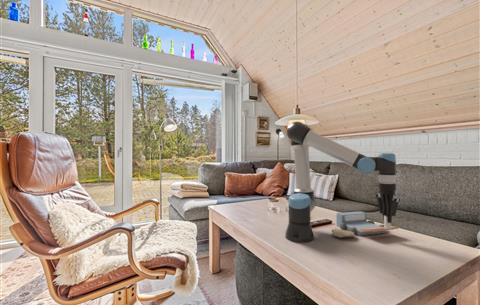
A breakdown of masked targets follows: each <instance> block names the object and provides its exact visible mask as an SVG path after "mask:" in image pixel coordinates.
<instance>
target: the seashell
mask: <svg viewBox="0 0 480 305" xmlns="http://www.w3.org/2000/svg"><path fill="white" fill-rule="evenodd" d="M331 235H332V236H335V237H337V238H338V239H339V238H340V239H341V238H343V239H344V238H350V237H353V236H355V235H354V233H353V232H351V231H347V230H342V229H337V228H334V229H332V230H331Z"/></svg>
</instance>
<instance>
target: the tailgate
mask: <svg viewBox="0 0 480 305" xmlns="http://www.w3.org/2000/svg"><path fill="white" fill-rule="evenodd" d="M398 229H399V226H391V229H385V228H384V227H379V228H368V229H360V230H361V231H372V232H374V231H384V230H386V231H393V230H398Z"/></svg>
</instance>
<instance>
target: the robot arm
mask: <svg viewBox="0 0 480 305" xmlns="http://www.w3.org/2000/svg"><path fill="white" fill-rule="evenodd" d="M286 136H287V138H288V139H289V140H290V146H291V147H292V148H293V156H294V158H293V159H294V171H295V172H294V175H295V188H294V189H293V193H292V194H290V195H289V197H288V224H287V227H286V231H285V239H286V240H287V241H290V242H292V243H297V244H298V243H300V244H302V243H303V244H304V243H312V242H313V241H314V240H315V235H314V230H313V228H312V225H311V224H312V223H311V213H312V211H313V210H314V209H315V207H316V204H317V202H316V197H315V190H314V189H313V188H312V185H311V170H310V169H311V168H310V167H311V166H310V153H309V147H311V148H314V149H315V150H317V151H320V152H321V153H323V154H325V155H327V156H330V157H332V158H333V159H336V160H337V161H339V162H342V163H344V164H346V165H348V166H349V167H352V168H353V170H354V171H358V172H361V173H363V174H371V173H372V172H378V182H379V183H378V190H379V193H377V194H375V197H376V201H377V204H378V205H377V206H378V212H379V214H382V220H383V225H384V228H385V229H391V227H392V226H391V225H392V224H391V223H392V221H393V220H392V219H393V218H392V217H396V214H397V210H398V206H399V202H400V201H401V198H400V197H397V196H396V193H395V192H396V190H397V184H396V183H397V173H396V172H397V171H396V170H397V161H396V160H397V159H396V154H395V153H392V152H391V153H389V152H388V153H386V152H384V153H382V152H379V153H378V156H366V155H364V154H362V153H359V152H358V151H355V150H354V149H351V148H349V147H347V146H345V145H343V144H340V143H338V142H336V141H334V140H331V139H329V138H327V137H325V136H323V135H321V134H318V133H316V132H315V131H314V130H313V129H312V128H310V126H308V125H307V124H305V123H303V122H301V121H293V122H291V123H290V124H288V127H286Z"/></svg>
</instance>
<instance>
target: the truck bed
mask: <svg viewBox="0 0 480 305" xmlns="http://www.w3.org/2000/svg"><path fill="white" fill-rule="evenodd" d="M367 218H368V216H367V212H364V211H349V212H336V227H338V228H340V230H346V231H351V232H353V233H354V235H353V236H355V235H356V236H367V235H368V236H369V235H376V234H377V235H378V234H382V233H383V234H384V233H386V232H387V230H384V231H374V232H372V231H361V230H360V229H368V228H379V227H384V224H379V225H378V224H375V221H373V220H368V219H367Z"/></svg>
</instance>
